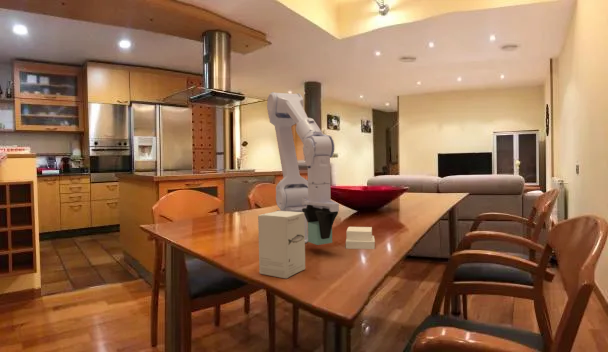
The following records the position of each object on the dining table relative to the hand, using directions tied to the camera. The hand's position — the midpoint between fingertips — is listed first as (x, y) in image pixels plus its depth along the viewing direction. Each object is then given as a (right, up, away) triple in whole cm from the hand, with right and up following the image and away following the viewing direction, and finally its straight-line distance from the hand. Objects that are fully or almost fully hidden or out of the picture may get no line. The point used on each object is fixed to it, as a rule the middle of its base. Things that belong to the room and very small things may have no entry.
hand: (320, 236), depth 96 cm
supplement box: (-9, -5, -16) cm, 19 cm away
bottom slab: (+11, -4, +6) cm, 14 cm away
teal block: (0, -2, 0) cm, 2 cm away
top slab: (+11, -2, +7) cm, 13 cm away
